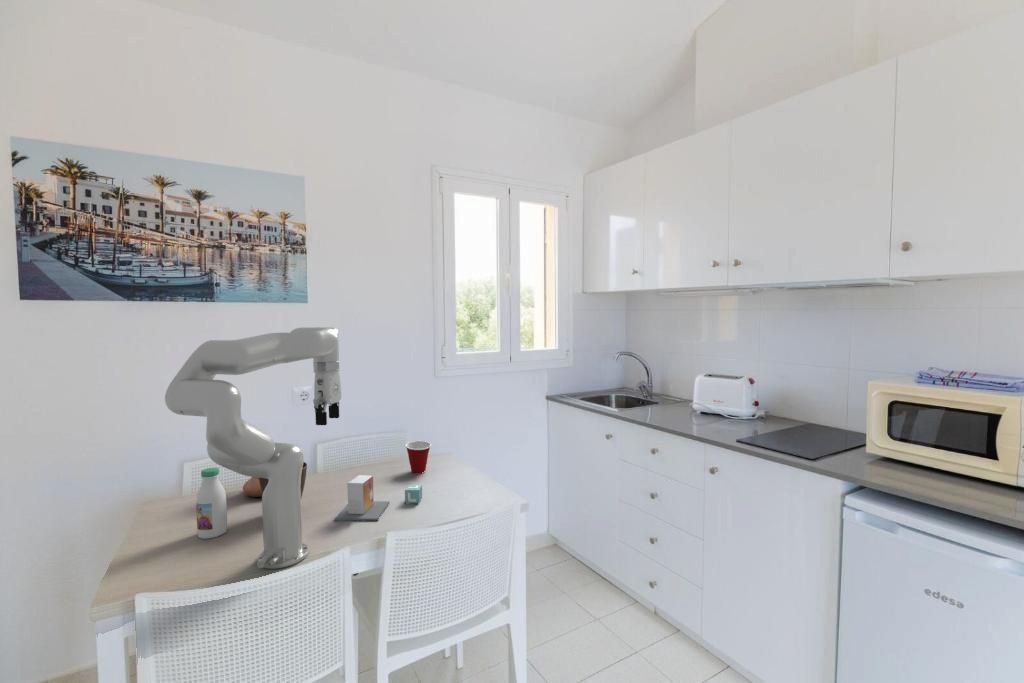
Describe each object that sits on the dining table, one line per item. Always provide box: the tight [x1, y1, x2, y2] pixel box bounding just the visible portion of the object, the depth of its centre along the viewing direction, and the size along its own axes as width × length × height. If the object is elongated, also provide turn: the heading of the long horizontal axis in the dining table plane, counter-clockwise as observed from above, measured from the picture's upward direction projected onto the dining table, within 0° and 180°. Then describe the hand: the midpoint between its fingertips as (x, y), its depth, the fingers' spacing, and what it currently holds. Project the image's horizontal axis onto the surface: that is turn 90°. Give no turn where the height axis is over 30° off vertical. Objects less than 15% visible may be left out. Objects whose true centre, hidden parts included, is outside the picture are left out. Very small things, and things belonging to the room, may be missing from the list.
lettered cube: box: [404, 484, 423, 504], centre depth 168 cm, size 5×5×5 cm
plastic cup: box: [405, 440, 432, 474], centre depth 200 cm, size 11×11×12 cm
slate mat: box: [334, 500, 390, 522], centre depth 159 cm, size 14×14×1 cm
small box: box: [347, 474, 374, 514], centre depth 159 cm, size 8×6×10 cm
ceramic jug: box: [242, 477, 263, 498], centre depth 177 cm, size 18×14×14 cm
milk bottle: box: [195, 467, 228, 540], centre depth 143 cm, size 8×8×20 cm
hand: (327, 421), depth 147 cm, fingers open, 9 cm apart
